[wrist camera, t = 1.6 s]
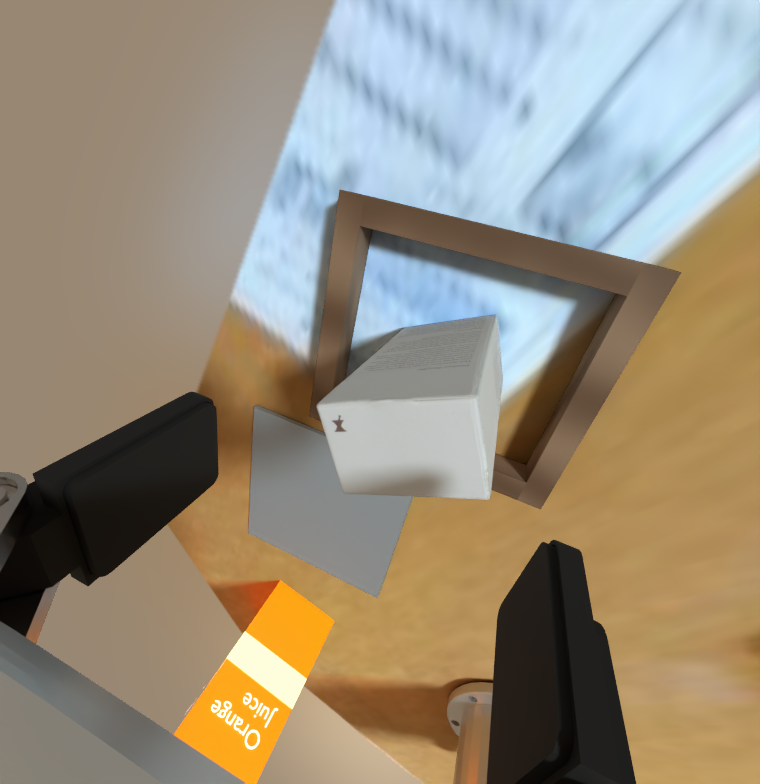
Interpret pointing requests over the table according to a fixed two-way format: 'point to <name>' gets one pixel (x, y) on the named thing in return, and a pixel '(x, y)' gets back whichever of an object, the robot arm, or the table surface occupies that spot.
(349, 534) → the rubber mat
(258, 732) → the orange juice
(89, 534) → the robot arm
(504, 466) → the brown square frame
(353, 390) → the skincare box
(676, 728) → the table surface
